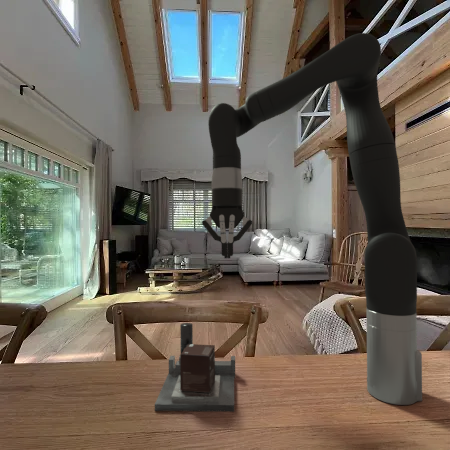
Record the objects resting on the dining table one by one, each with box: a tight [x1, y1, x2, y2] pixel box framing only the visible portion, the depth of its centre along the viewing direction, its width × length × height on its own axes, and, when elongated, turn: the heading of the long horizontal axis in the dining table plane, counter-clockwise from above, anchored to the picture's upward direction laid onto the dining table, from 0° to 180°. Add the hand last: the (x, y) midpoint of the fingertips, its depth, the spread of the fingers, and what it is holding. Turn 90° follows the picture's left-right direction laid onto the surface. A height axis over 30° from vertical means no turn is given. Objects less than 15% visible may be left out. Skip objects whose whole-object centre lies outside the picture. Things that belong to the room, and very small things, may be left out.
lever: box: [178, 322, 194, 364], centre depth 75 cm, size 3×3×9 cm
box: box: [179, 343, 216, 392], centre depth 66 cm, size 6×6×7 cm
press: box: [154, 355, 236, 413], centre depth 69 cm, size 15×16×4 cm
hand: (227, 258), depth 80 cm, fingers closed
